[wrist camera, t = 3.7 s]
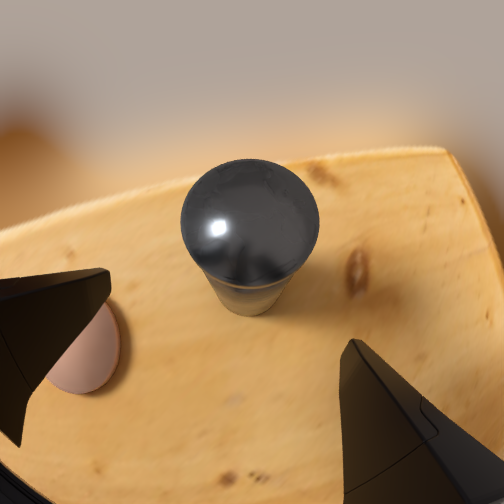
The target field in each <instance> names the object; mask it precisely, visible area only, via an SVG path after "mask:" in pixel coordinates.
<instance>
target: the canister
mask: <svg viewBox="0 0 504 504" xmlns="http://www.w3.org/2000/svg"><path fill="white" fill-rule="evenodd" d="M181 232H182V237H183V240H184V243H185V245H186V248H187V250H188V251H189V253H190V255H191V257H192V258H193V260H194V261H195V262H196V264H197V265H198V266H199V267H200V268H201V269H202V270H203V272H204V274H205V275H206V277H207V279H208V281H209V282H210V284H211V286H212V287H213V289H214V291H215V292H216V294H217V296H218V298H219V299H220V301H221V303H222V304H223V305H224V306H225V307H226V308H227V309H228V310H230V311H231V312H233V313H235V314H237V315H241V316H255V315H259V314H261V313H263V312H265V311H267V310H268V309H269V308H270V307H271V306H272V305H273V304H274V303H275V301H276V300H277V298H278V297H279V295H280V294H281V292H282V291H283V289H284V288H285V286H286V285H287V283H288V282H289V280H290V279H291V277H292V276H293V274H294V273H295V272H296V271H298V269H299V268H300V267H301V266H302V265H303V264H304V262H305V261H306V260H307V258H308V257H309V255H310V254H311V252H312V250H313V248H314V246H315V244H316V241H317V237H318V233H319V212H318V208H317V205H316V202H315V199H314V197H313V195H312V193H311V192H310V190H309V188H308V187H307V186H306V185H305V183H304V182H303V181H302V180H301V179H300V178H299V177H298V176H296V175H295V174H294V173H293V172H291V171H290V170H288V169H286V168H285V167H283V166H280V165H278V164H276V163H272V162H269V161H265V160H259V159H241V160H234V161H231V162H227V163H224V164H221V165H219V166H217V167H215V168H213V169H211V170H210V171H208V172H207V173H205V174H204V175H203V176H202V177H201V178H200V179H199V180H198V181H197V182H196V183H195V184H194V185H193V187H192V188H191V189H190V191H189V193H188V195H187V196H186V198H185V201H184V204H183V207H182V212H181Z"/></svg>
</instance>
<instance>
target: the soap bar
mask: <svg viewBox="0 0 504 504" xmlns="http://www.w3.org/2000/svg"><path fill="white" fill-rule="evenodd" d="M120 349H121V340H120V332H119V327H118V324H117V321H116V318H115V316H114V314H113V312H112V310H111V308H110V307H109V305H108V304H107V303H106V302H104V304H103V305H102V307H101V308H100V310H99V311H98V312H97V314H96V315H95V317H94V318H93V319H92V321H91V322H90V323H89V324H88V325H87V327H86V328H85V329H84V330H83V331H82V332H81V334H80V335H79V336H78V337H77V338H76V339H75V341H74V342H73V343H72V344H71V345H70V347H69V348H68V349H67V350H66V351H65V353H64V354H63V355H62V356H61V358H60V359H59V360H58V361H57V363H56V364H55V365H54V366H53V368H52V369H51V370H50V371H49V373H48V374H47V375H46V376H45V377H46V378H47V379H48V380H49V381H50V382H51V383H52V384H53V385H54V386H56V387H57V388H59V389H61V390H63V391H65V392H68V393H73V394H82V393H87V392H91V391H94V390H97V389H99V388H100V387H102V386H103V385H104V384H106V383H107V381H108V380H109V379H110V378H111V376H112V375H113V373H114V371H115V369H116V367H117V364H118V361H119V357H120Z"/></svg>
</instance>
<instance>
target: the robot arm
mask: <svg viewBox="0 0 504 504" xmlns="http://www.w3.org/2000/svg"><path fill="white" fill-rule="evenodd" d="M110 293H111V277H110V272H109V271H108V270H106V269H104V268H93V269H84V270H76V271H68V272H60V273H52V274H43V275H35V276H27V277H21V278H20V277H16V278H8V279H0V432H1V433H2V434H3V435H4V436H6V437H7V438H8V439H9V440H10V441H11V442H12V443H14V444H15V445H16V446H17V447H18V448H20V446H21V441H22V433H23V426H24V419H25V413H26V408H27V403H28V400H29V398H30V396H31V395H32V393H33V392H34V391H35V389H36V388H37V387H38V385H39V384H40V383H41V382H42V380H43V379H44V378H45V376H46V375H47V374H48V373H49V371H50V370H51V369H52V368H53V366H54V365H55V364H56V363H57V361H58V360H59V359H60V358H61V356H62V355H63V354H64V353H65V351H66V350H67V349H68V348H69V347H70V345H71V344H72V343H73V342H74V341H75V339H76V338H77V337H78V336H79V335H80V334H81V332H82V331H83V330H84V329H85V328H86V327H87V325H88V324H89V323H90V322H91V321H92V319H93V318H94V317H95V315H96V314H97V312H98V311H99V310H100V308H101V307H102V305H103V304H104V302H105V301H106V300H107V298H108V297H109V295H110ZM339 400H340V414H341V429H342V448H343V478H344V500H343V504H504V461H503V460H501V459H500V458H499V457H498V456H496V455H495V454H494V453H492V452H491V451H490V450H489V449H487V448H486V447H485V446H483V445H482V444H481V443H480V442H478V441H477V440H476V439H475V438H473V437H472V436H471V435H469V434H468V433H467V432H466V431H464V430H463V429H462V428H461V427H459V426H458V425H457V424H456V423H454V422H453V421H452V420H450V419H449V418H448V417H447V416H446V415H444V414H443V413H442V412H441V411H439V410H438V409H437V408H436V407H435V406H434V405H433V404H432V403H430V402H429V401H428V400H427V399H426V398H425V397H424V396H422V395H421V394H420V393H419V392H418V391H417V390H416V389H415V388H414V387H412V386H411V385H410V384H409V383H408V382H407V381H406V380H405V379H404V378H403V377H402V376H400V375H399V374H398V373H397V372H396V371H395V370H394V369H393V368H392V367H391V366H390V365H388V364H387V363H386V362H385V361H384V360H383V359H382V358H381V357H380V356H379V355H378V354H376V353H375V352H374V351H373V350H372V349H371V348H370V347H369V346H368V345H367V344H365V343H364V342H363V341H362V340H359V339H354V338H352V339H351V340H350V341H349V342H348V344H347V346H346V348H345V349H344V351H343V353H342V355H341V359H340V379H339ZM0 504H56V503H55V502H53V501H52V500H50V499H49V498H47V497H46V496H44V495H43V494H41V493H40V492H39V491H37V490H36V489H35V488H33V487H32V486H31V485H29V484H28V483H27V482H25V481H24V480H23V479H22V478H20V477H19V476H18V475H17V474H15V473H14V472H13V471H12V470H11V469H10V468H8V467H7V466H6V465H5V464H4V463H3V462H2V461H1V460H0Z"/></svg>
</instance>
